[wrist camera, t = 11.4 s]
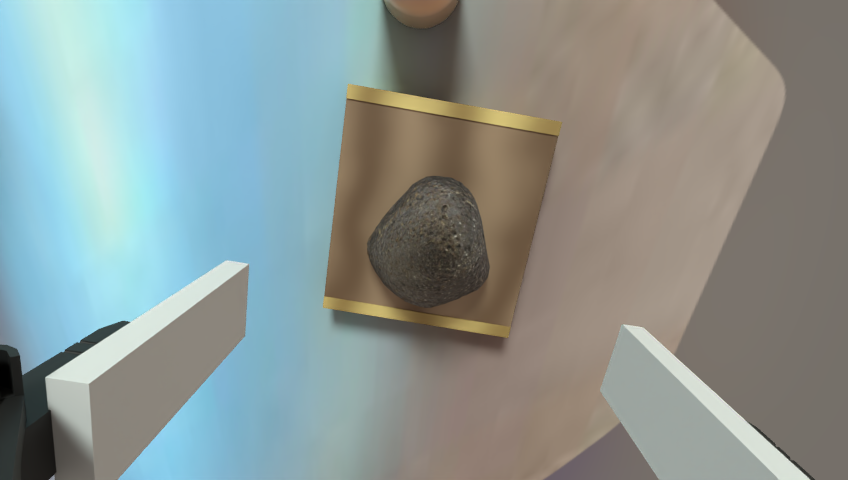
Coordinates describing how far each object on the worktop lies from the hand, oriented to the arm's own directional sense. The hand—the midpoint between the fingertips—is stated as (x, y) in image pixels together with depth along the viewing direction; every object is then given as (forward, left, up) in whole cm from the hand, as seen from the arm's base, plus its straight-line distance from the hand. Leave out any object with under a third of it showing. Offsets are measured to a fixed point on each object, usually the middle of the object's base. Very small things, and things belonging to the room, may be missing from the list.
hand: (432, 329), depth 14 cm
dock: (0, 0, -21) cm, 21 cm away
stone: (0, -1, -19) cm, 19 cm away
